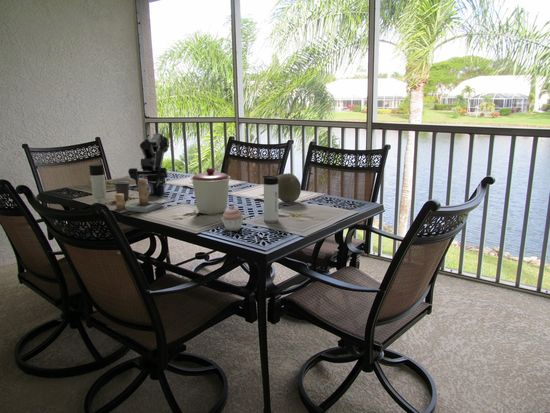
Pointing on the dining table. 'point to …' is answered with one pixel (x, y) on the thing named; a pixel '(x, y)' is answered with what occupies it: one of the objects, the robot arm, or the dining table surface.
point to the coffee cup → (122, 188)
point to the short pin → (120, 201)
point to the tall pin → (143, 192)
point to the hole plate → (143, 207)
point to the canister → (211, 191)
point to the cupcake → (232, 218)
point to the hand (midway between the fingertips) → (146, 187)
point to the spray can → (98, 183)
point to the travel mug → (270, 199)
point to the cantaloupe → (288, 187)
